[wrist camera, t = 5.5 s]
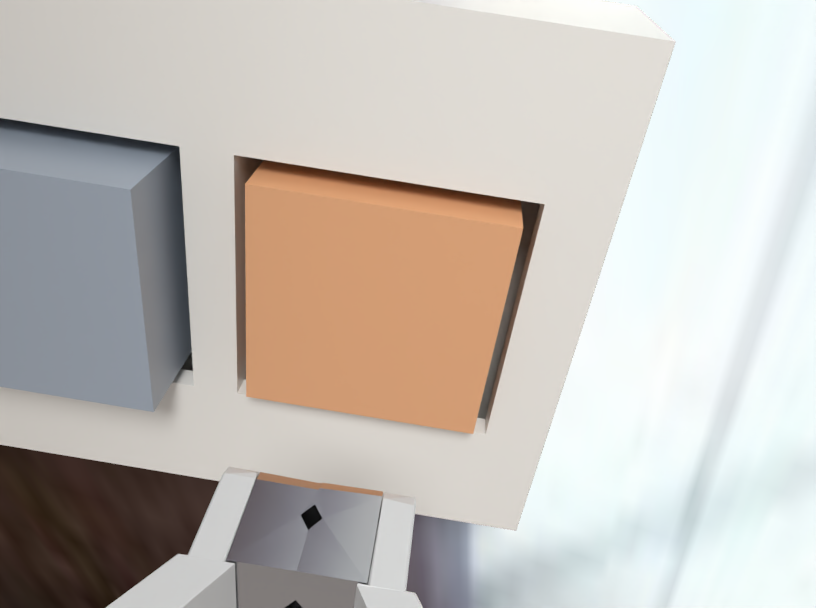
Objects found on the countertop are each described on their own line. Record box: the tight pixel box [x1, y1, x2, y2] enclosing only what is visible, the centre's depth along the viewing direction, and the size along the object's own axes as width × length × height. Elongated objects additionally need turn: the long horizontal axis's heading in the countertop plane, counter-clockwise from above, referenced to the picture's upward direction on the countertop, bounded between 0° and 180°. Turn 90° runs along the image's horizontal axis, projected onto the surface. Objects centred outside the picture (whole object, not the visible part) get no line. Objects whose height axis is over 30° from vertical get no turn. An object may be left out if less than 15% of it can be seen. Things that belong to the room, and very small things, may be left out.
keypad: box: [0, 0, 676, 531], centre depth 18 cm, size 14×26×4 cm, turn 83°
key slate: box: [0, 118, 192, 412], centre depth 17 cm, size 6×6×3 cm
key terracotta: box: [245, 160, 523, 434], centre depth 17 cm, size 6×6×3 cm
